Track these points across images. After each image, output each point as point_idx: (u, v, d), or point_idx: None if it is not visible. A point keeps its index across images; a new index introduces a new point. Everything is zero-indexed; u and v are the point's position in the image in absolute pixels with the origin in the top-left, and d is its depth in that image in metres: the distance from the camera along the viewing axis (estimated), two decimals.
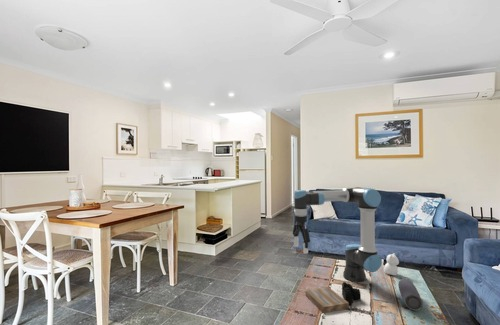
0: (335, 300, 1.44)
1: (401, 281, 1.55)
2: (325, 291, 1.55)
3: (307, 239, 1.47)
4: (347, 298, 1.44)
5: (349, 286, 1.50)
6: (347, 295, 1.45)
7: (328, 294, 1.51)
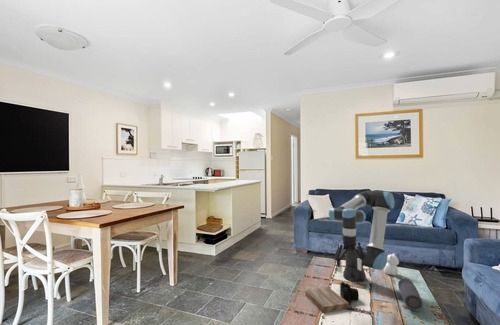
0: (335, 300, 1.44)
1: (401, 281, 1.55)
2: (325, 291, 1.55)
3: (335, 257, 1.49)
4: (345, 298, 1.45)
5: (347, 286, 1.50)
6: (345, 295, 1.45)
7: (328, 294, 1.51)
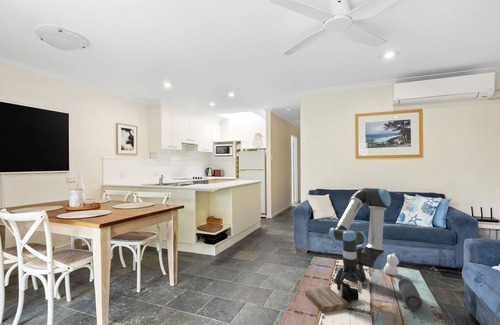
0: (335, 300, 1.44)
1: (401, 281, 1.55)
2: (325, 291, 1.55)
3: (335, 280, 1.48)
4: (345, 298, 1.45)
5: (347, 286, 1.50)
6: (345, 295, 1.45)
7: (328, 294, 1.51)
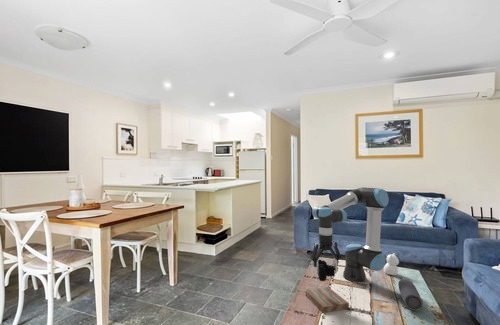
0: (335, 300, 1.44)
1: (401, 281, 1.55)
2: (325, 291, 1.55)
3: (311, 257, 1.47)
4: (321, 274, 1.43)
5: (323, 263, 1.49)
6: (321, 271, 1.43)
7: (328, 294, 1.51)
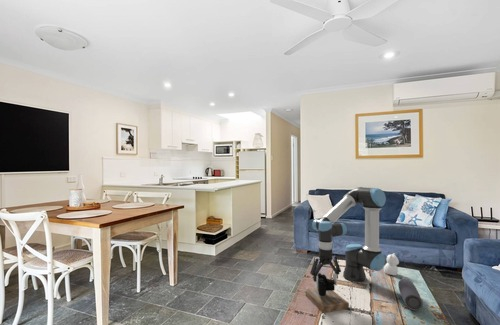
0: (335, 300, 1.44)
1: (401, 281, 1.55)
2: None
3: (311, 271, 1.47)
4: (320, 289, 1.43)
5: (323, 277, 1.49)
6: (320, 286, 1.43)
7: (328, 294, 1.51)
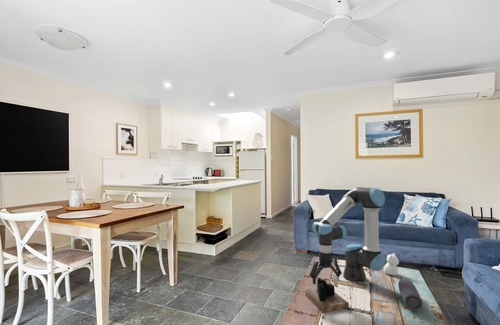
0: (335, 300, 1.44)
1: (401, 281, 1.55)
2: None
3: (310, 274, 1.47)
4: (321, 294, 1.43)
5: (323, 282, 1.49)
6: (321, 291, 1.43)
7: None
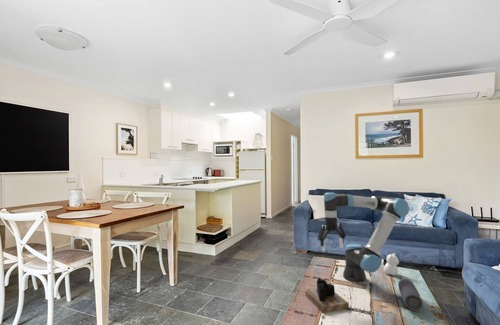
0: (335, 300, 1.44)
1: (401, 281, 1.55)
2: None
3: (318, 237, 1.62)
4: (321, 294, 1.43)
5: (323, 282, 1.49)
6: (321, 291, 1.43)
7: None
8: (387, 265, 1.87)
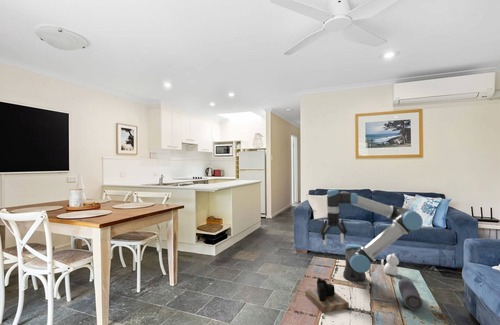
0: (335, 300, 1.44)
1: (401, 281, 1.55)
2: None
3: (320, 231, 1.70)
4: (321, 294, 1.43)
5: (323, 282, 1.49)
6: (321, 291, 1.43)
7: None
8: (387, 265, 1.87)
